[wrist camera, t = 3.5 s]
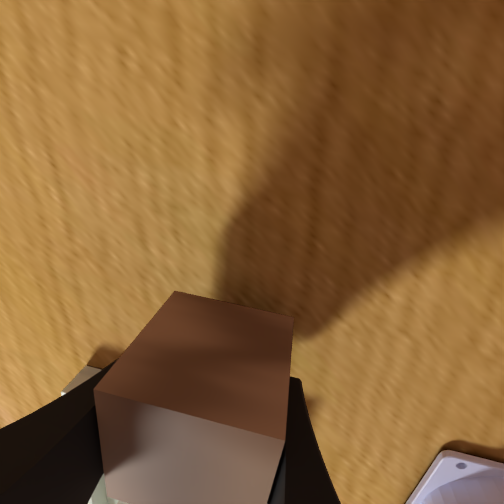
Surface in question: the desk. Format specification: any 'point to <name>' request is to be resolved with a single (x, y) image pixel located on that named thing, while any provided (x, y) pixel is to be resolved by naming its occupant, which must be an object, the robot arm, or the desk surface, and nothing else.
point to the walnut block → (197, 405)
